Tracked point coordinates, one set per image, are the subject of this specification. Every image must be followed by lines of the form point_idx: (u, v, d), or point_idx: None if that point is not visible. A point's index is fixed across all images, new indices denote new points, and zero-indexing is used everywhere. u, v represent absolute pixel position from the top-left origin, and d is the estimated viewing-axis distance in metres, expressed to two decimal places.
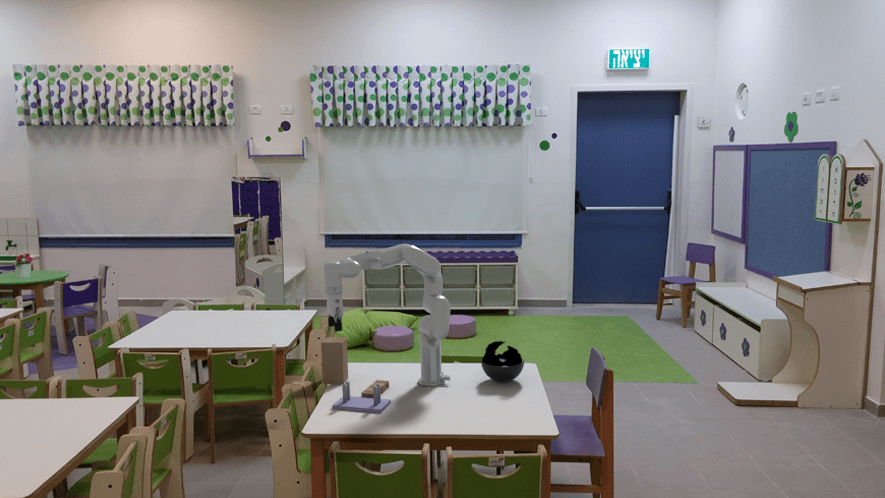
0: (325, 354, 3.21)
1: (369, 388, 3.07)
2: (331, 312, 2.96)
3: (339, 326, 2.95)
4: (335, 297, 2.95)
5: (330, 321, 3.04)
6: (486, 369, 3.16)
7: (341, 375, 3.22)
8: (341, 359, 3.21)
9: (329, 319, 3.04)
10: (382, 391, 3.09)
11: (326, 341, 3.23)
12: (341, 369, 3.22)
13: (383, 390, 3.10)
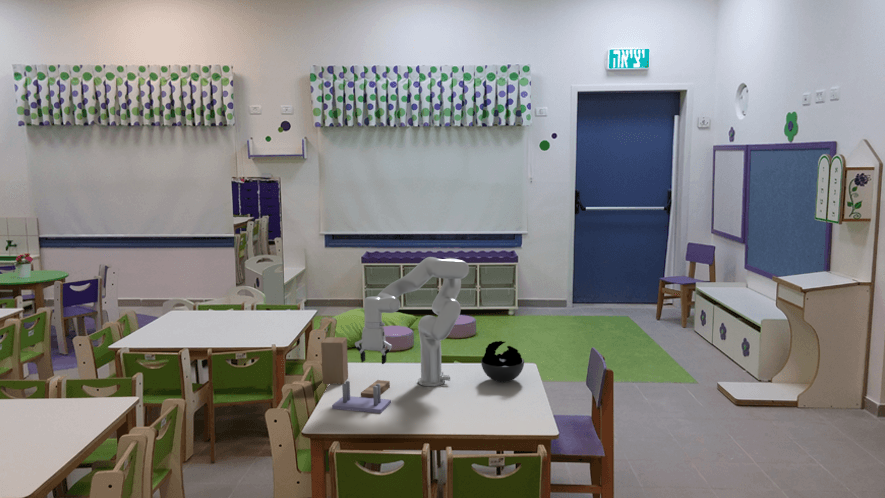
0: (325, 354, 3.21)
1: (369, 388, 3.07)
2: (377, 346, 3.04)
3: (385, 358, 3.06)
4: (382, 331, 3.04)
5: (363, 356, 3.08)
6: (486, 369, 3.16)
7: (341, 375, 3.22)
8: (341, 359, 3.21)
9: (362, 355, 3.07)
10: (382, 391, 3.09)
11: (326, 341, 3.23)
12: (341, 369, 3.22)
13: (383, 390, 3.10)
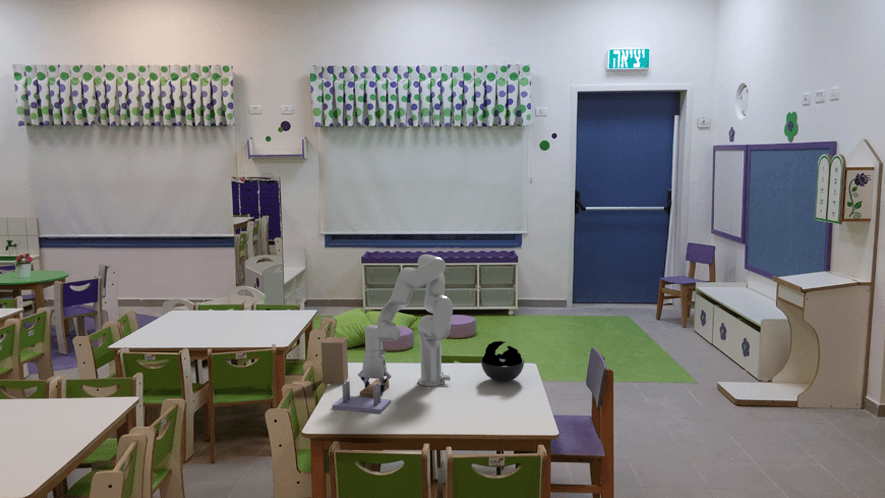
0: (325, 354, 3.21)
1: (368, 387, 3.07)
2: (378, 374, 3.05)
3: (384, 387, 3.08)
4: (383, 359, 3.06)
5: None
6: (486, 369, 3.16)
7: (341, 375, 3.22)
8: (341, 359, 3.21)
9: (367, 385, 3.09)
10: None
11: (326, 341, 3.23)
12: (341, 369, 3.22)
13: None
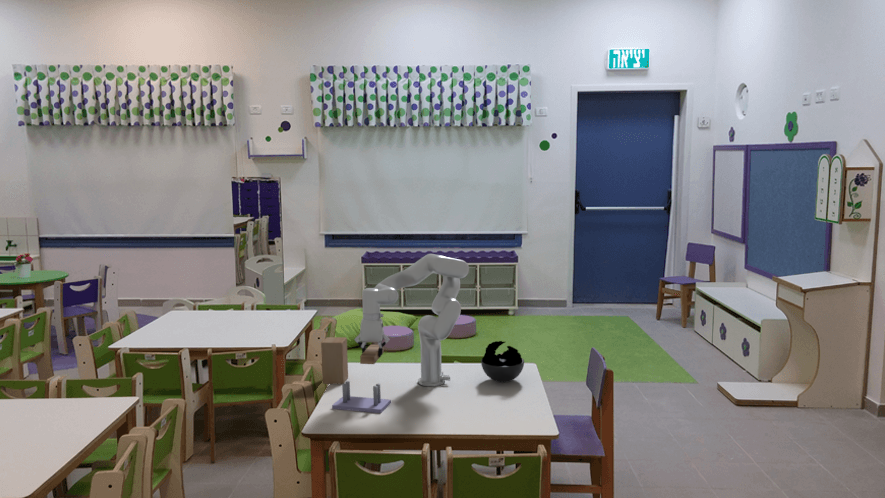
0: (325, 354, 3.21)
1: (366, 351, 3.02)
2: (377, 338, 3.02)
3: (382, 351, 3.05)
4: (381, 322, 3.02)
5: None
6: (486, 369, 3.16)
7: (341, 375, 3.22)
8: (341, 359, 3.21)
9: (364, 349, 3.04)
10: None
11: (326, 341, 3.23)
12: (341, 369, 3.22)
13: None
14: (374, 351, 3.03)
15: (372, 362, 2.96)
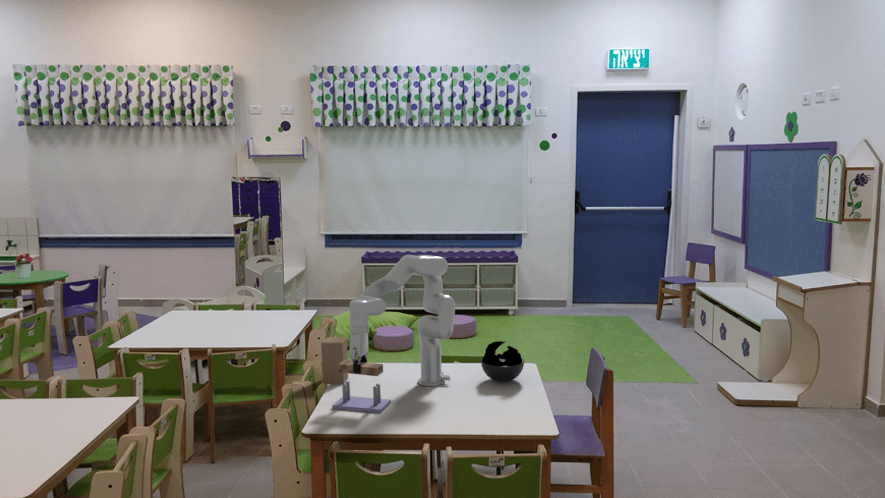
0: (325, 354, 3.21)
1: (364, 365, 2.89)
2: (367, 348, 2.93)
3: None
4: None
5: None
6: (486, 369, 3.16)
7: (341, 375, 3.22)
8: (341, 359, 3.21)
9: None
10: None
11: (326, 341, 3.23)
12: None
13: None
14: (364, 363, 2.93)
15: (382, 370, 2.92)
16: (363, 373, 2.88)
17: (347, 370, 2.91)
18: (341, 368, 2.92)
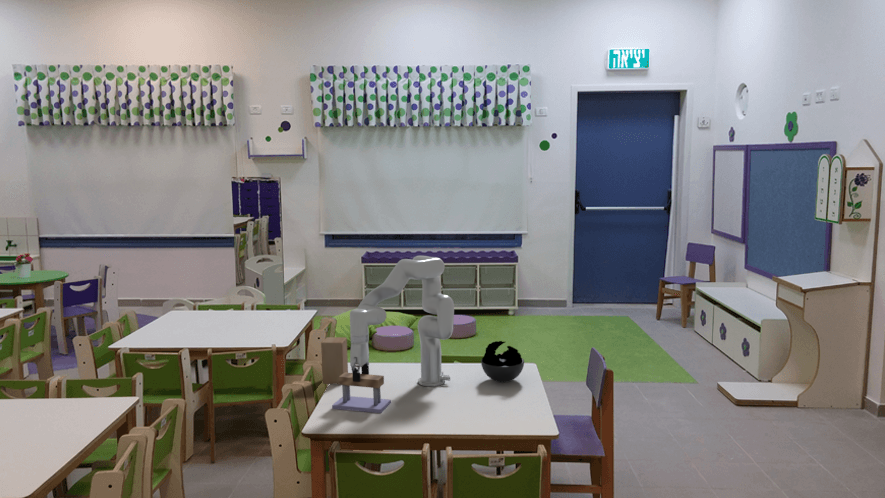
0: (325, 354, 3.21)
1: (365, 378, 2.90)
2: (367, 357, 2.94)
3: None
4: None
5: None
6: (486, 369, 3.16)
7: None
8: (341, 359, 3.21)
9: None
10: None
11: (326, 341, 3.23)
12: (341, 369, 3.22)
13: None
14: (365, 375, 2.94)
15: (383, 382, 2.93)
16: (364, 385, 2.89)
17: (348, 383, 2.92)
18: (342, 380, 2.92)
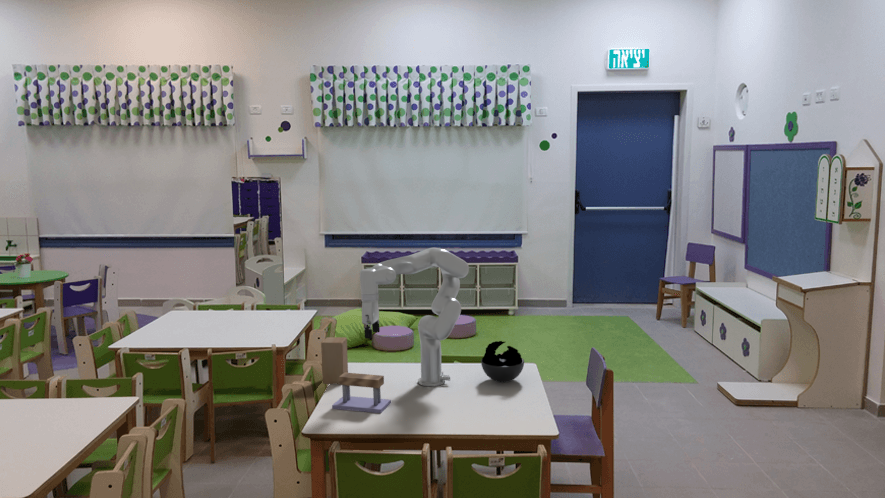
0: (325, 354, 3.21)
1: (365, 378, 2.90)
2: (378, 315, 3.05)
3: None
4: None
5: None
6: (486, 369, 3.16)
7: None
8: (341, 359, 3.21)
9: None
10: None
11: (326, 341, 3.23)
12: (341, 369, 3.22)
13: None
14: (365, 375, 2.94)
15: (383, 382, 2.93)
16: (364, 385, 2.89)
17: (348, 383, 2.92)
18: (342, 380, 2.92)
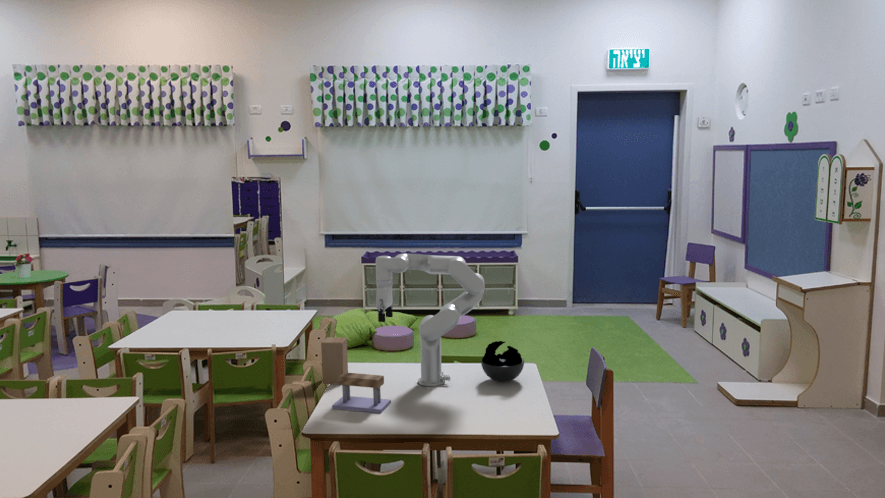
0: (325, 354, 3.21)
1: (365, 378, 2.90)
2: (391, 301, 3.21)
3: None
4: None
5: None
6: (486, 369, 3.16)
7: None
8: (341, 359, 3.21)
9: None
10: None
11: (326, 341, 3.23)
12: (341, 369, 3.22)
13: None
14: (365, 375, 2.94)
15: (383, 382, 2.93)
16: (364, 385, 2.89)
17: (348, 383, 2.92)
18: (342, 380, 2.92)
